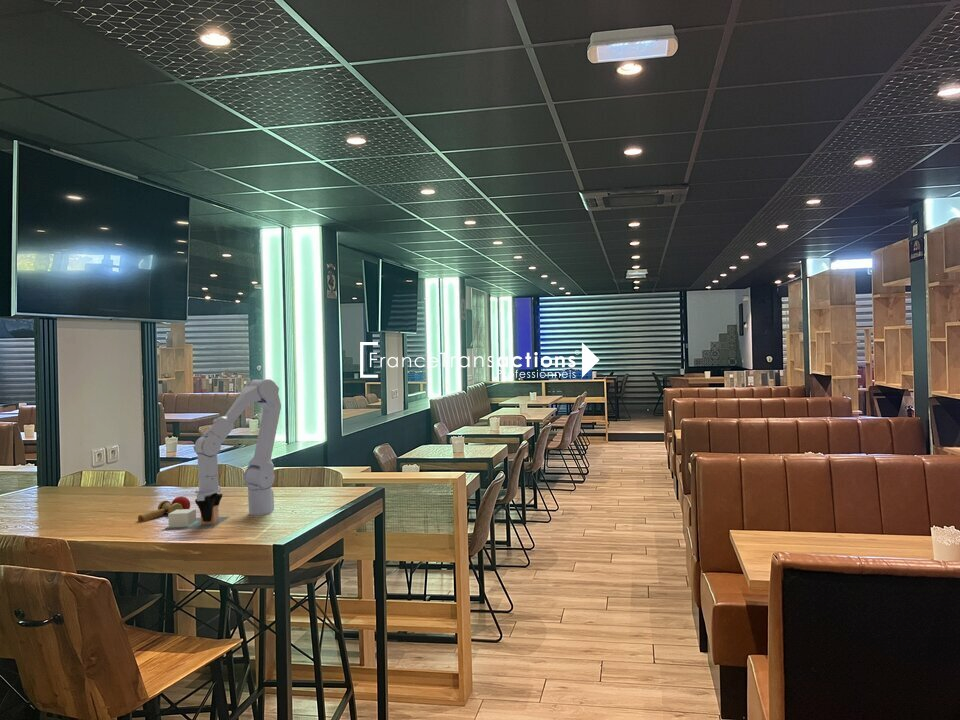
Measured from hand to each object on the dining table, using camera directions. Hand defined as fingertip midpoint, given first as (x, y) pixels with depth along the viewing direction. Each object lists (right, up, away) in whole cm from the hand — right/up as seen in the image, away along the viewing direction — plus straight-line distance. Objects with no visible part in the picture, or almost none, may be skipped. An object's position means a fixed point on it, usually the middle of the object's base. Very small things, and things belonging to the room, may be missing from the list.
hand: (209, 519), depth 223 cm
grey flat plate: (-4, -2, 0) cm, 4 cm away
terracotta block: (0, -1, 0) cm, 1 cm away
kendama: (-19, -3, +13) cm, 24 cm away
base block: (-8, -1, -1) cm, 8 cm away
